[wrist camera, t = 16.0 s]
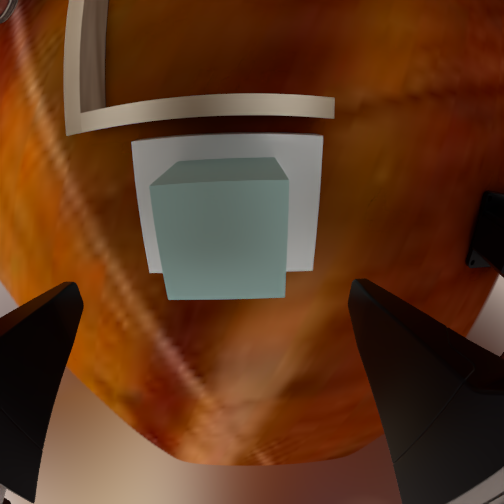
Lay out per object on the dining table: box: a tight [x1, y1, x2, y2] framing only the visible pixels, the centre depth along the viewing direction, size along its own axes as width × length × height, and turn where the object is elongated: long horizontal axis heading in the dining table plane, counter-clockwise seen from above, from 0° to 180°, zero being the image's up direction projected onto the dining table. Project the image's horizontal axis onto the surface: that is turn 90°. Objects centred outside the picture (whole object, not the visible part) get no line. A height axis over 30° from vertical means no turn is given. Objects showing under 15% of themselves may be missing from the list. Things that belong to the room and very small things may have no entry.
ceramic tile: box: [131, 132, 323, 273], centre depth 16 cm, size 10×8×1 cm
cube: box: [149, 157, 289, 300], centre depth 13 cm, size 5×5×5 cm
